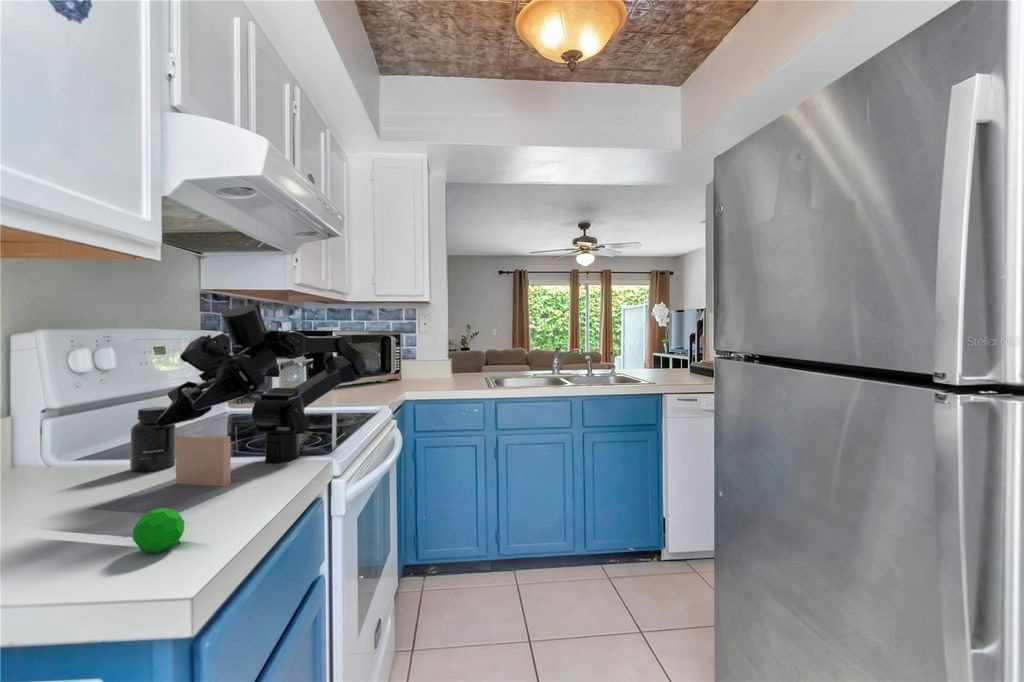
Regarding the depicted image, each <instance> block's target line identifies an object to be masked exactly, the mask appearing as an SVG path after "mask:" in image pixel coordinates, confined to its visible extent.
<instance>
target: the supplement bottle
mask: <svg viewBox="0 0 1024 682" xmlns="http://www.w3.org/2000/svg"><path fill="white" fill-rule="evenodd" d="M168 407H169V406H168ZM168 407H167V406H157V407H156V406H155V407H154V406H153V407H143V408H139V409H138V410H137V420H138V422H137V423H135V424H133V426H132V427H131V429H130V454H129V455H130V458H129V460H130V462H129V463H130V464H129V467H130V468H129V471H130V472H131V473H135V474H136V473H137V474H141V473H142V474H144V473H146V474H147V473H154V472H160V471H165V470H168V469H172V468H173V467H176V435H177V433H176V431H177V429H176V424H173V425H169V426H165V427H158V426H157V425H156V423H155V422H156V421H157V420H158V418H159V417H160V416H161V415H162V414H163V413H164V412H165V410H166V409H167V408H168Z"/></svg>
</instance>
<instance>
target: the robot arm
mask: <svg viewBox="0 0 1024 682" xmlns="http://www.w3.org/2000/svg"><path fill="white" fill-rule="evenodd" d="M220 316H221V319H222V321H223V324H224V327H225V329H226V332H227V334H228V335H226V334H225V333H220V334H218V335H215V336H213V337H212V335H211V334H208V335H202V336H199V337H198V338H196V339H194V340H192V341H191V342H189V343H188V344H187V346H186V348H185V349H184V350H183V351H182V353H181V354H180V356H179V358H180V360H181V361H183V362H184V363H188V364H189V365H191V366H192V367H194V368H195V369H197V370H198V371H200V372H201V373H200V374H199V375H198V377H199V378H200V379H201V380H202V381H203V382H202V383H201V384H197V383H196V382H193V381H186V382H183V384H181V385H179V386H177V387H175V388H173V389H172V390H170V391H169V392H168V393H167V397H168V398H169V399H170V400H171V403H170V405H168V408H167V409H166V410H165V412H164V413H163V414H162V415H161V416H160V417H159V418H158V420H157V421H156V422H155V423H156V425H157V426H158V427H165V426H169V425H173V424H175V425H176V424H181V423H185V422H192V421H195V420H197V419H199V418H201V417H203V416H204V415H205V414H206V415H207V413H209V412H210V411H212V407H213V406H214V407H215V406H217V405H221V404H225V403H229V402H232V401H237V400H238V399H239V400H240V399H242V398H244V397H246V396H248V395H251V394H253V393H255V392H257V391H259V390H260V389H261V388H263V387H264V386H265V385H266V378H279V377H280V373H281V370H280V364H279V363H278V360H295V359H298V358H301V357H304V355H305V354H310V353H311V354H313V353H315V354H316V353H317V354H318V353H323V364H324V365H325V369H324V370H322V371H321V372H319V373H317V374H316V375H314V376H312V377H310V378H309V379H307V380H306V381H304V382H301V383H299V385H297V386H295V387H294V388H293V387H291V388H290V387H273V388H271V389H269V391H267V392H266V393H263V394H259V396H260V397H259V398H258V399H257V400H256V401H255V402H254V403H253V404H254V405H253V407H252V409H251V416H252V419H253V423H254V425H255V429H256V432H257V433H258V434H262V433H263V434H265V445H264V446H265V449H264V450H265V458H264V459H265V460H264V463H265V464H273V465H275V464H276V465H277V464H283V463H286V462H291V461H295V460H297V459H299V456H300V453H301V452H300V450H301V449H300V434H305V433H306V432H308V431H309V429H310V424H311V420H310V418H309V417H308V416H307V415H306V414H305V408H307V407H309V406H310V405H312V403H314V402H315V401H317V400H319V399H320V398H322V397H323V396H325V395H326V394H328V393H329V392H331V391H332V390H333V389H335V388H337V387H338V386H339V385H341V384H346V383H351V382H356V381H359V380H361V379H362V378H363V377H364V375H365V373H366V371H367V365H366V363H365V360H364V359H363V356H362V355H361V353H360V352H359V351H358V350H356V349H355V348H354V347H353V346H352V345H350V344H349V342H348V340H347V339H346V337H345V336H342V335H325V336H309V335H308V336H307V335H305V334H304V333H301V332H299V331H295V330H276V329H266V325H265V323H264V320H263V317H262V314H261V309H260V306H259V304H258V303H250V304H246V305H244V306H239V307H234V308H229V309H226V310H224V311H222V312H221V313H220ZM230 343H231V345H232V346H239V347H240V348H242V349H243V350H242V351H240V352H239V353H237V352H236V353H235V354H232V355H231V354H230ZM333 353H339V354H340V355H339V356H338V355H337V356H334V354H333Z"/></svg>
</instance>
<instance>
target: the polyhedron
mask: <svg viewBox="0 0 1024 682" xmlns="http://www.w3.org/2000/svg"><path fill="white" fill-rule="evenodd" d="M132 530H133V531H132V540H133V542H134V543H135V544H136V545H137V546H138V548H139V549H140V550H141V551H144V552H147V553H155V552H159V553H160V552H161V553H162V552H164V551H166V550H168V548H169V549H170V548H171V547H173V546H175V545H176V544H177V543H178V542H179V540H180V538H181V537H182V536H183V533H184V531H185V521H184V519H183V518H182V516H181V515H180V513H178V512H177V511H175V510H172V509H168V508H159V509H156V510H153V511H150V512H148V513H144V514H143V515H142V516H141V517H140V518H139V520H138V521H136V523H135V525H134V528H133V529H132ZM163 550H164V551H163Z"/></svg>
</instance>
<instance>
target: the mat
mask: <svg viewBox="0 0 1024 682" xmlns="http://www.w3.org/2000/svg"><path fill="white" fill-rule="evenodd" d="M253 481H254V480H253V479H237V478H231V483H230V484H228V485H226V486H209V485H192V484H176V477H175V478H173V479H170V480H167V481H164V482H162V483H159V484H155V485H153V486H150V487H147V488H144V489H142V490H138V491H135V492H133V493H130V494H126V495H124V496H121V497H118V498H115V499H112V500H109V501H107V502H104V503H101V504H98V505H95V506H91V507H89V508H88V510H95V511H97V510H98V511H107V512H110V511H111V512H123V513H124V512H127V513H137V514H138V513H140V514H147V513H148V512H150V511H153V510H156V509H159V508H168V509H172V510H175V511H177V512H178V514H180V513H181V512H184V511H185V510H189V509H191V508H192V507H195V506H197V505H200V504H202V503H204V502H206V501H209V500H212V499H213V498H216V497H218V496H220V495H222V494H223V495H224V494H226V493H228V492H230V491H232V490H235V489H237V488H239V487H241V486H244V485H246V484H248V483H251V482H253Z"/></svg>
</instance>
